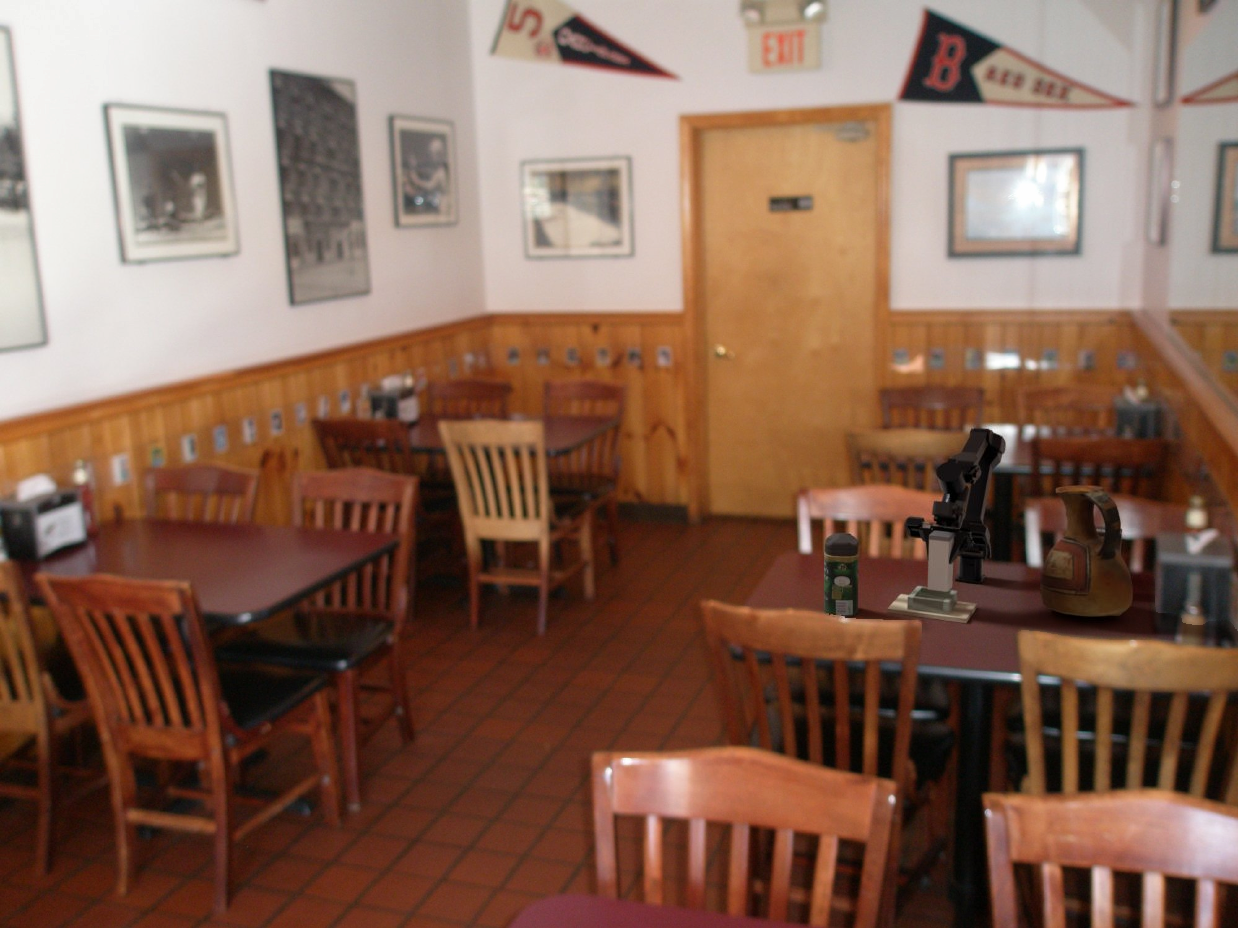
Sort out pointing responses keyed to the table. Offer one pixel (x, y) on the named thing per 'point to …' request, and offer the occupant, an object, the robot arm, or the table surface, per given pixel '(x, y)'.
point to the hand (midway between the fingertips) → (939, 562)
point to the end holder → (933, 605)
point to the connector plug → (940, 561)
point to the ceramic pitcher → (1087, 559)
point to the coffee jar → (841, 575)
